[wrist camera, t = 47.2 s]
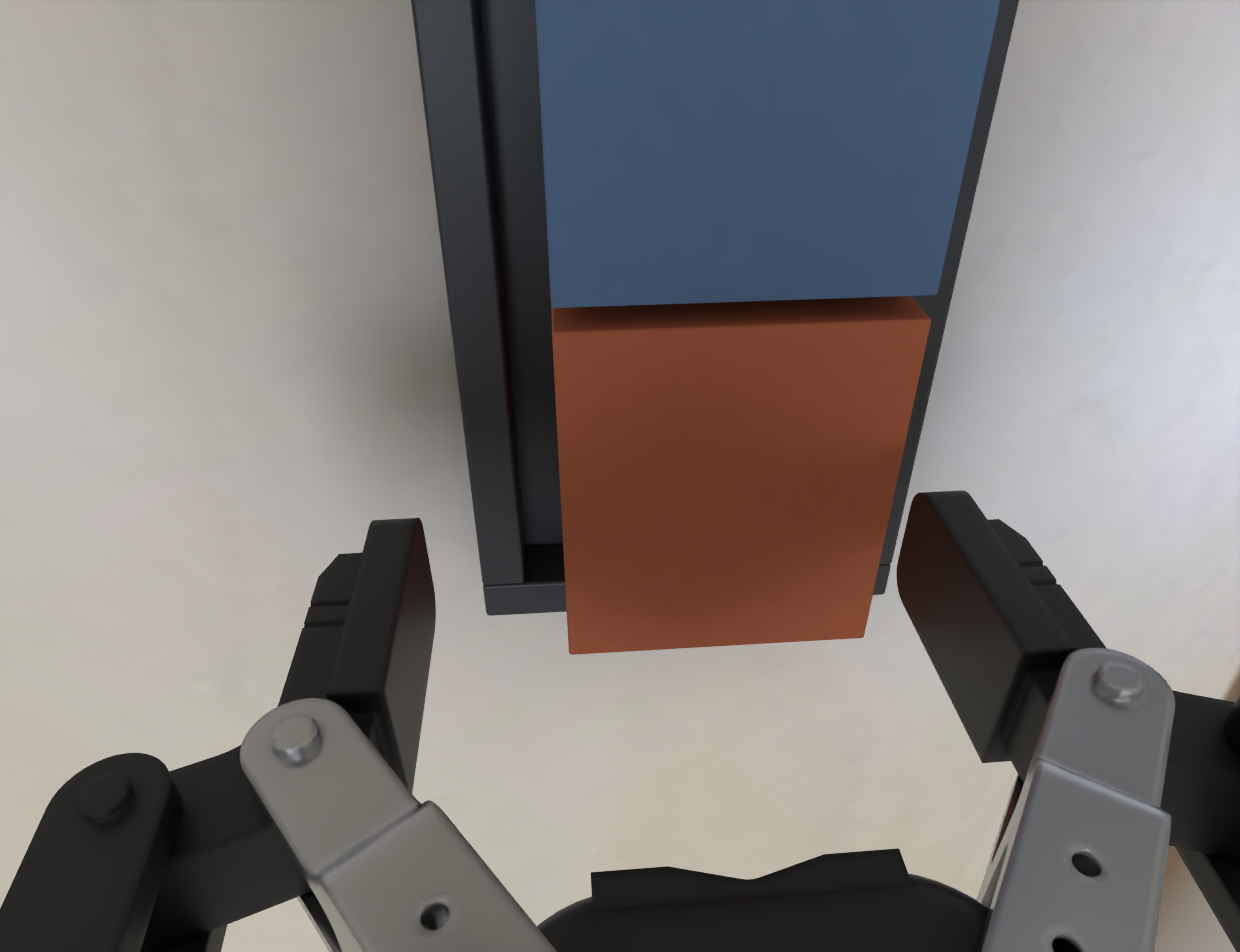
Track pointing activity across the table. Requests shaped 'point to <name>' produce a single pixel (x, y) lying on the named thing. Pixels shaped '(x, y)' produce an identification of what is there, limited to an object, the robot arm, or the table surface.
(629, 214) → the matte blue cube
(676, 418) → the matte reddish brown block
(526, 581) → the frame
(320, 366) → the table surface
